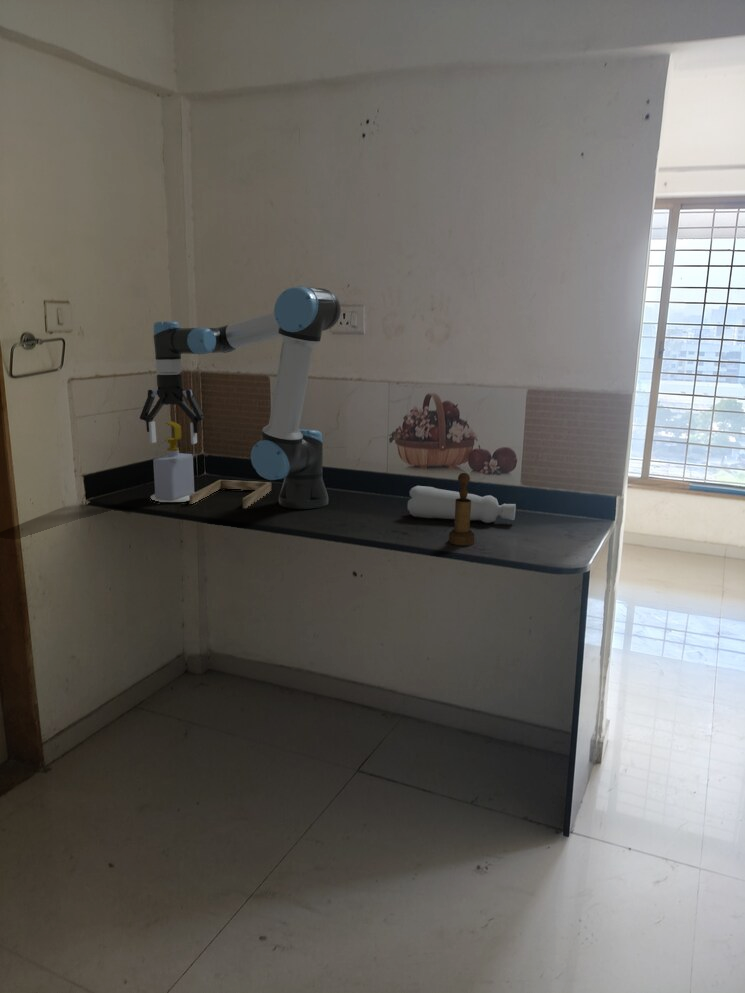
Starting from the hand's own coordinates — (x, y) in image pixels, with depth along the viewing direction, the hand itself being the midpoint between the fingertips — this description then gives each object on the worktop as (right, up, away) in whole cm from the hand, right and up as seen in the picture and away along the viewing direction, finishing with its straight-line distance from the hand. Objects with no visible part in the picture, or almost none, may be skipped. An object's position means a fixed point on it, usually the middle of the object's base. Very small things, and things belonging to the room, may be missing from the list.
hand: (173, 443), depth 236 cm
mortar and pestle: (+84, -28, -40) cm, 97 cm away
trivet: (-1, -17, +4) cm, 18 cm away
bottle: (+87, -24, -18) cm, 92 cm away
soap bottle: (-1, -17, +4) cm, 17 cm away
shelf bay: (+17, -17, +6) cm, 25 cm away
